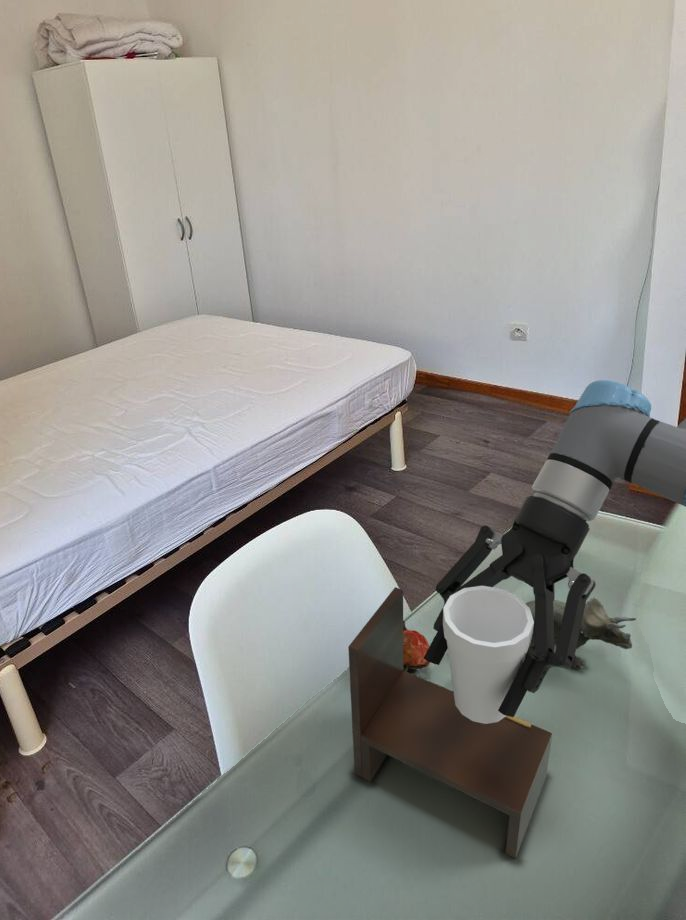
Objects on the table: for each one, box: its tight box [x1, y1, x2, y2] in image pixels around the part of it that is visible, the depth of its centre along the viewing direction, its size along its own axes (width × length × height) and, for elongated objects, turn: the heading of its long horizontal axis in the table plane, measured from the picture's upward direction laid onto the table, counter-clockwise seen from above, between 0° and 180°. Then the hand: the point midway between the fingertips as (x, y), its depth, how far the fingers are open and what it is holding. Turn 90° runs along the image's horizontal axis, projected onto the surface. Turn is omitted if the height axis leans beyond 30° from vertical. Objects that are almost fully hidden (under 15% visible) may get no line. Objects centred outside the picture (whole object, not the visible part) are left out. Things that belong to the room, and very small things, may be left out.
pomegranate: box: [403, 620, 431, 672], centre depth 103 cm, size 7×7×10 cm
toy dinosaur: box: [525, 596, 637, 669], centre depth 103 cm, size 22×8×11 cm, turn 73°
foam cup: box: [442, 586, 534, 724], centre depth 77 cm, size 10×9×13 cm
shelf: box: [348, 586, 553, 860], centre depth 83 cm, size 21×12×22 cm, turn 57°
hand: (466, 686), depth 76 cm, fingers closed on foam cup, 9 cm apart
